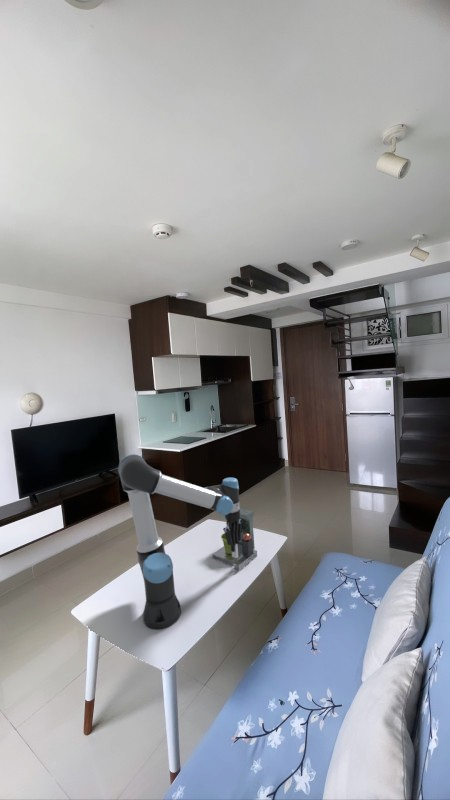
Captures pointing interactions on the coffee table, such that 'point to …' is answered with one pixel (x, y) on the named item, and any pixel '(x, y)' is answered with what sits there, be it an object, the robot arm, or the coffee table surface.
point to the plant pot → (226, 544)
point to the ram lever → (247, 545)
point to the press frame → (241, 560)
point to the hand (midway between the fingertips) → (235, 556)
